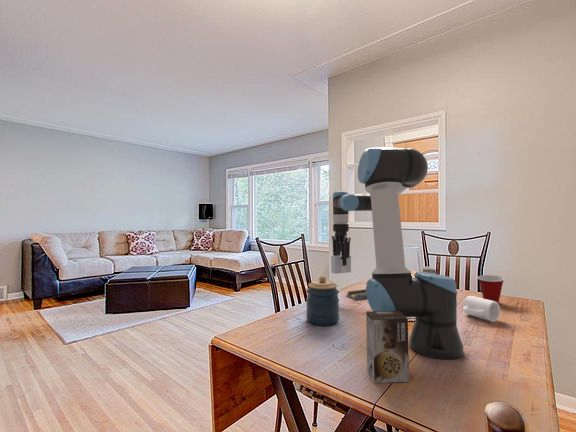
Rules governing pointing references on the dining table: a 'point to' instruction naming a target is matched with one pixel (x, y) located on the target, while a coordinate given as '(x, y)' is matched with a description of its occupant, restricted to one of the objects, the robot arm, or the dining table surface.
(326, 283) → the canister
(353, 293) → the grey rectangular tray
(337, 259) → the white rectangular block
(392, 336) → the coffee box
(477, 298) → the mug
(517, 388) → the dining table surface
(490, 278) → the plastic cup
